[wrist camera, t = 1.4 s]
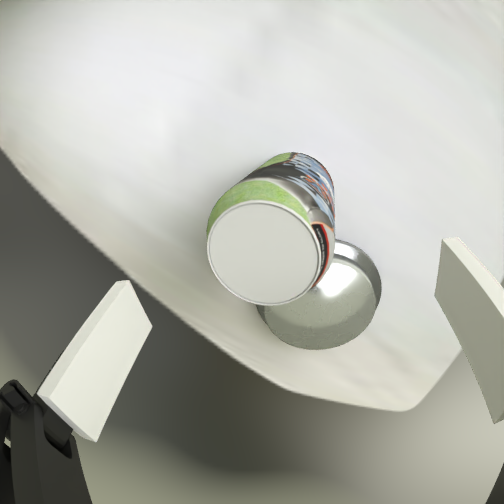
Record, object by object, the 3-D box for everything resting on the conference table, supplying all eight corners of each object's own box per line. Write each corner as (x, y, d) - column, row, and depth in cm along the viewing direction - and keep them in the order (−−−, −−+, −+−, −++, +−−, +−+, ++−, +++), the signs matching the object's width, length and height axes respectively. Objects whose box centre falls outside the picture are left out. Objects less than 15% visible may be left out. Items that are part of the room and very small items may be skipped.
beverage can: (321, 229, 24) (342, 335, 13) (233, 213, 24) (192, 310, 14) (339, 156, 21) (391, 218, 10) (243, 137, 21) (198, 181, 10)
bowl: (242, 248, 25) (238, 263, 23) (380, 229, 23) (389, 243, 21) (268, 343, 31) (266, 360, 29) (377, 330, 29) (381, 347, 27)
